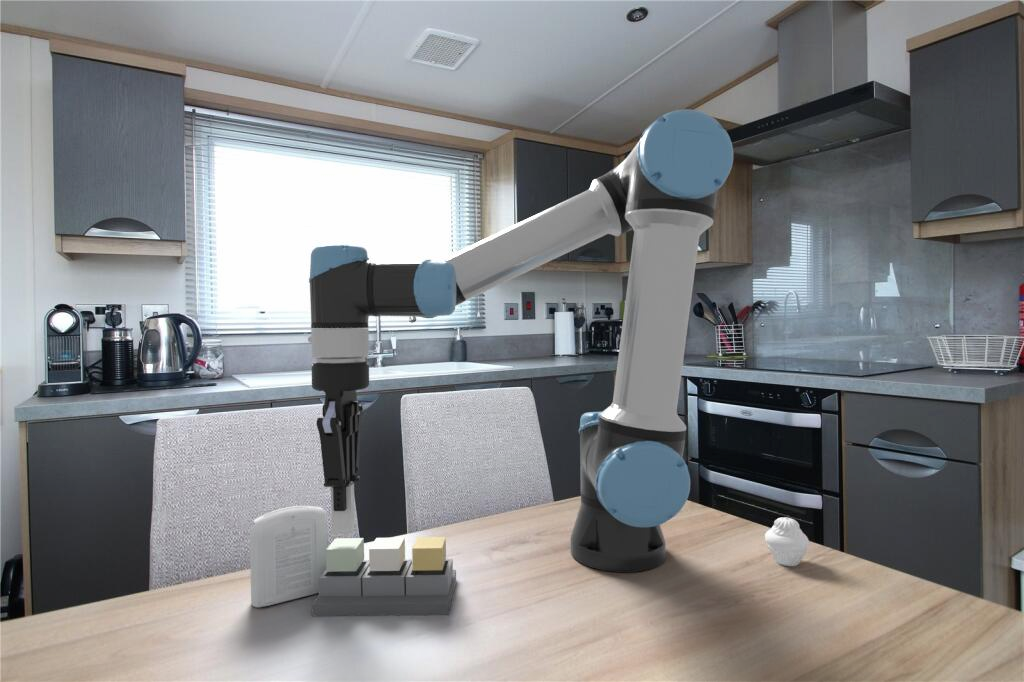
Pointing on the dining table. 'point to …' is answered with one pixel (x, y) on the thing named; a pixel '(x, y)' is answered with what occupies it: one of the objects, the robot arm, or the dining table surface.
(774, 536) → the muffin
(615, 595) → the dining table surface
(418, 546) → the key ochre
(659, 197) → the robot arm
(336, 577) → the keypad
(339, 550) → the key sage
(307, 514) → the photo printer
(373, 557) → the key ivory
